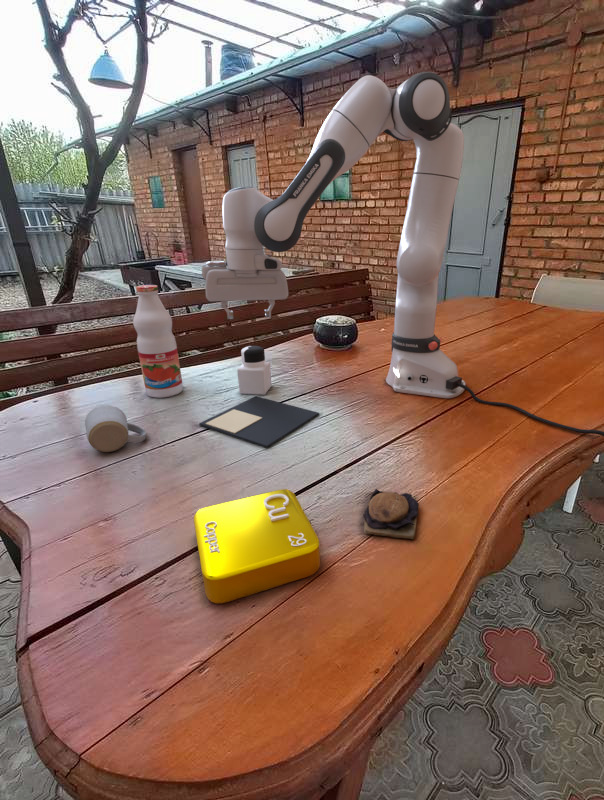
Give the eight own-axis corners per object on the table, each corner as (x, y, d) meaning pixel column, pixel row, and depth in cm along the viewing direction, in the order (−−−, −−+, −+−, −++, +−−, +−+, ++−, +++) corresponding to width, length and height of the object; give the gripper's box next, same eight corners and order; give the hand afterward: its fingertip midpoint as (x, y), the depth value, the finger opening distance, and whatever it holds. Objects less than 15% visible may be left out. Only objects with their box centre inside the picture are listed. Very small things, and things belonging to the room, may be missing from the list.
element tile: (195, 532, 64) (191, 506, 62) (292, 507, 69) (290, 483, 67) (208, 610, 51) (203, 580, 49) (324, 572, 56) (324, 544, 55)
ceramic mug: (91, 458, 83) (83, 423, 80) (89, 441, 89) (81, 408, 86) (150, 445, 88) (144, 412, 85) (144, 430, 94) (138, 398, 91)
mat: (319, 414, 102) (319, 411, 102) (267, 448, 87) (267, 444, 87) (256, 398, 111) (255, 395, 111) (199, 425, 96) (198, 422, 96)
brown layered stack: (416, 542, 62) (418, 522, 60) (359, 534, 63) (360, 515, 62) (418, 498, 72) (420, 480, 70) (369, 493, 73) (369, 475, 71)
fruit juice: (182, 383, 121) (166, 282, 110) (184, 395, 113) (167, 287, 102) (146, 388, 117) (126, 284, 106) (146, 400, 109) (124, 289, 98)
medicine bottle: (272, 385, 120) (269, 344, 115) (265, 395, 113) (261, 351, 108) (247, 384, 120) (243, 343, 116) (239, 394, 114) (234, 351, 109)
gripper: (199, 262, 98) (206, 322, 104) (288, 262, 103) (290, 318, 108) (201, 260, 104) (207, 316, 109) (285, 259, 108) (287, 313, 114)
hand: (249, 317), depth 109 cm, fingers open, 8 cm apart
